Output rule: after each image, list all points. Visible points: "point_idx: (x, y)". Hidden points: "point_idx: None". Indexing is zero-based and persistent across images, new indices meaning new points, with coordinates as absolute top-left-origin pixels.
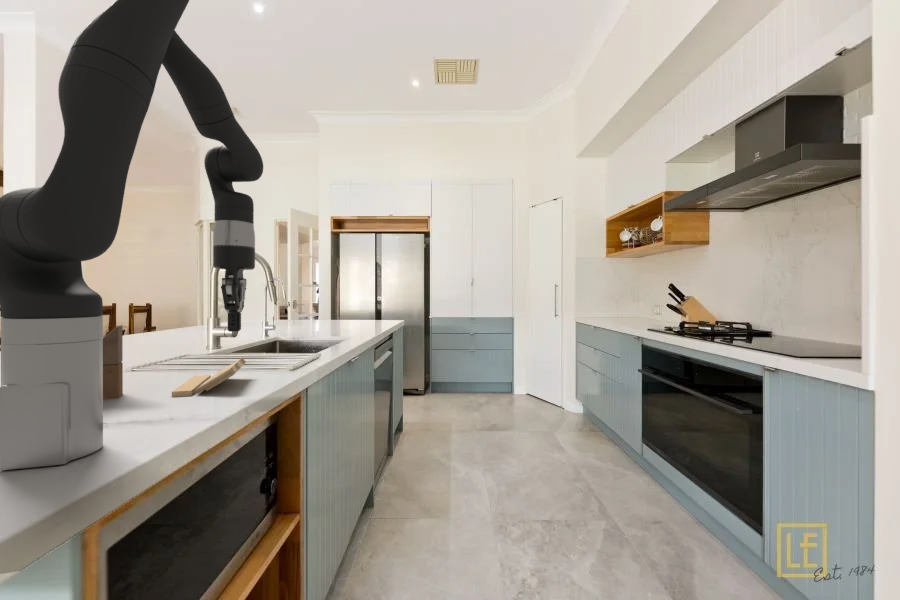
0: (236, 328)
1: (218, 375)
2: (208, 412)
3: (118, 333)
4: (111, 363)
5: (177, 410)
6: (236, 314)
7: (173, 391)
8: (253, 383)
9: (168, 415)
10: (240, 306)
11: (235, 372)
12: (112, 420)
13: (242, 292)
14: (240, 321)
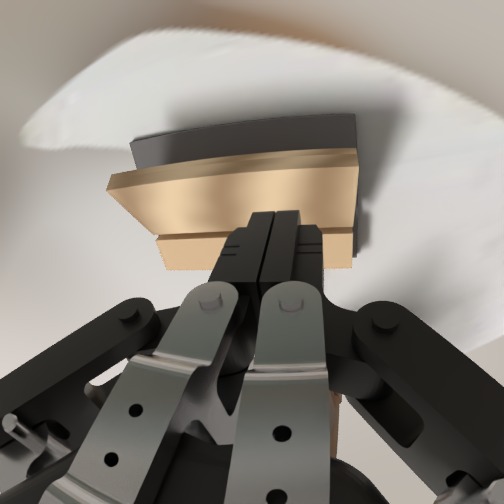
0: (316, 228)
1: (331, 193)
2: (472, 162)
3: None
4: (330, 393)
5: (434, 223)
6: (321, 290)
7: (350, 265)
8: (167, 123)
9: (463, 228)
10: (278, 324)
11: (313, 150)
12: (451, 294)
13: (323, 468)
14: (264, 239)
